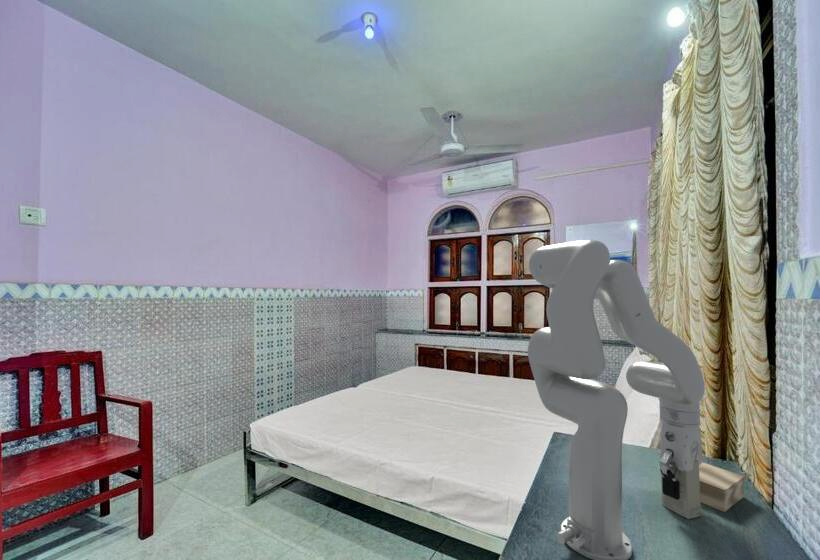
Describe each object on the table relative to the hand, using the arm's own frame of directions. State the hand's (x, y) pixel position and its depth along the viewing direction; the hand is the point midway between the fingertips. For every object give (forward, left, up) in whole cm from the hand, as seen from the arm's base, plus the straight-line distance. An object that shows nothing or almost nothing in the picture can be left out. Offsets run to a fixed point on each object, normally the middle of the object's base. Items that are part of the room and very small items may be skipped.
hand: (681, 490), depth 83 cm
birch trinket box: (+14, -1, -4) cm, 14 cm away
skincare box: (0, 0, -5) cm, 5 cm away
